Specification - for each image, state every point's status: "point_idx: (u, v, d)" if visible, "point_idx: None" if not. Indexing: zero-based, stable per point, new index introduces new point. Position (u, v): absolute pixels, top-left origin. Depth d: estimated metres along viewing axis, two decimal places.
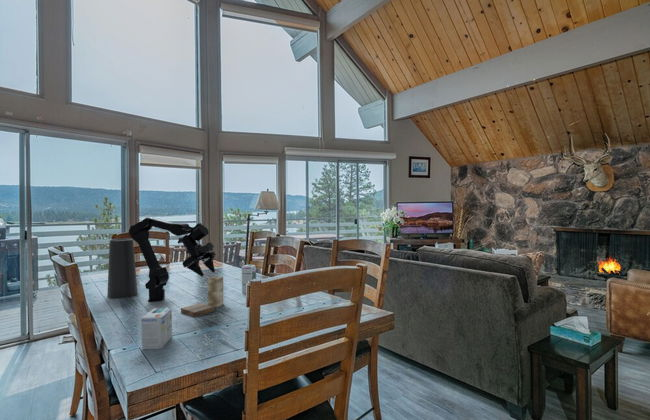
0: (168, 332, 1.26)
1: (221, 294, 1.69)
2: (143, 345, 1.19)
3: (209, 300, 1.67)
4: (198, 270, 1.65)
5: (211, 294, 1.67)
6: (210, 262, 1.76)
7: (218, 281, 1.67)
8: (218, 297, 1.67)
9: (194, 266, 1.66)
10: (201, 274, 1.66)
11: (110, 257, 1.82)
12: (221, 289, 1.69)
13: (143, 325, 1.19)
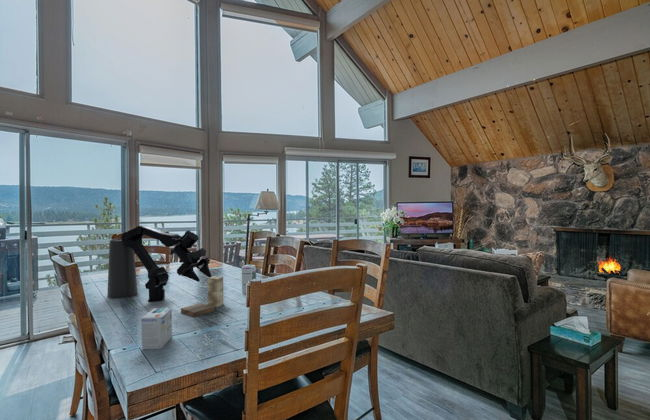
0: (168, 332, 1.26)
1: (221, 294, 1.69)
2: (143, 345, 1.19)
3: (209, 300, 1.67)
4: (193, 276, 1.65)
5: (211, 294, 1.67)
6: (205, 268, 1.76)
7: (218, 281, 1.67)
8: (218, 297, 1.67)
9: (189, 273, 1.66)
10: (197, 279, 1.66)
11: (110, 257, 1.82)
12: (221, 289, 1.69)
13: (143, 325, 1.19)
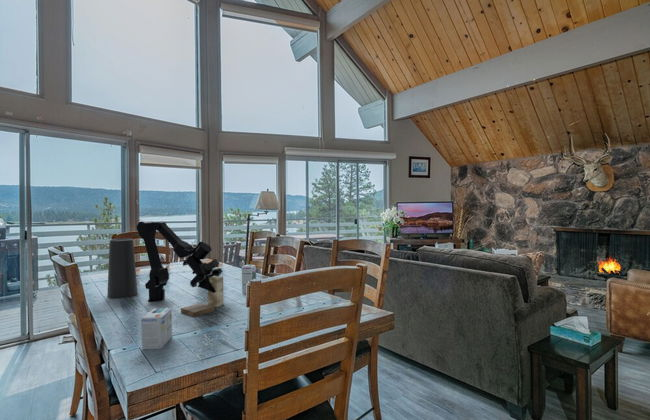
0: (168, 332, 1.26)
1: (221, 294, 1.69)
2: (143, 345, 1.19)
3: (209, 300, 1.67)
4: (209, 287, 1.66)
5: (211, 294, 1.67)
6: None
7: (218, 281, 1.67)
8: (218, 297, 1.67)
9: (205, 284, 1.66)
10: (212, 290, 1.66)
11: (110, 257, 1.82)
12: (221, 289, 1.69)
13: (143, 325, 1.19)
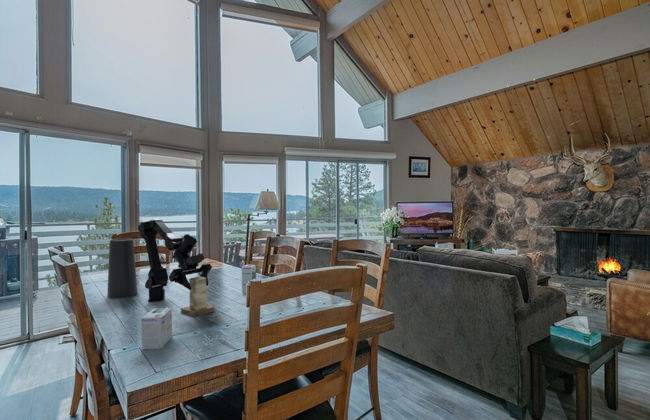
0: (168, 332, 1.26)
1: (202, 297, 1.58)
2: (143, 345, 1.19)
3: (190, 302, 1.58)
4: (185, 283, 1.54)
5: (192, 295, 1.57)
6: (204, 275, 1.63)
7: (198, 282, 1.56)
8: (198, 299, 1.56)
9: (182, 279, 1.56)
10: (188, 287, 1.54)
11: (110, 257, 1.82)
12: (203, 291, 1.58)
13: (143, 325, 1.19)
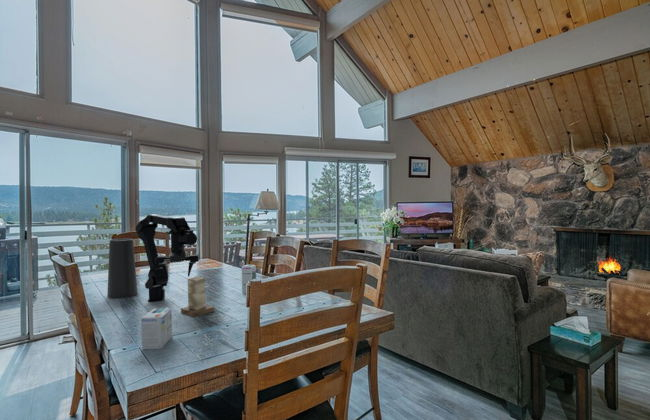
0: (168, 332, 1.26)
1: (202, 297, 1.58)
2: (143, 345, 1.19)
3: (189, 302, 1.57)
4: None
5: (191, 296, 1.56)
6: None
7: (198, 282, 1.56)
8: (198, 299, 1.56)
9: None
10: (166, 275, 1.68)
11: (110, 257, 1.82)
12: (202, 291, 1.58)
13: (143, 325, 1.19)
